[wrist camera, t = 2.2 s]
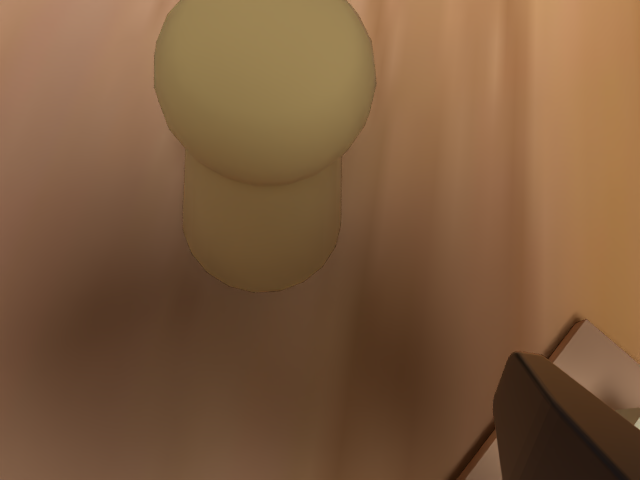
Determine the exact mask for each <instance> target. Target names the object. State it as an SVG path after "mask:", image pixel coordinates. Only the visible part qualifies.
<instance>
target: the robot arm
mask: <svg viewBox="0 0 640 480" xmlns="http://www.w3.org/2000/svg"><path fill="white" fill-rule="evenodd" d="M493 415H494V423H495V430H496V438H497V445H498V452H499V460H500V467H501V475H502V480H640V430H639V429H638V428H637V427H636V426H634V425H633V424H632V423H630V422H629V421H628V420H626V419H625V418H624V417H623V416H621V415H620V414H619V413H617V412H616V411H615V410H613V409H612V408H611V407H609V406H608V405H607V404H606V403H604V402H603V401H602V400H600V399H599V398H598V397H596V396H595V395H594V394H593V393H591V392H590V391H589V390H587V389H586V388H585V387H583V386H582V385H581V384H579V383H578V382H577V381H576V380H574V379H573V378H572V377H570V376H569V375H568V374H566V373H565V372H564V371H563V370H561V369H560V368H559V367H557V366H556V365H555V364H553V363H552V362H551V361H549V360H548V359H547V358H546V357H544V356H543V355H540V354H535V353H528V352H521V351H515V352H513V353H512V354H511V355H510V356H509V358H508V360H507V363H506V365H505V368H504V371H503V373H502V376H501V379H500V382H499V384H498V387H497V390H496V392H495V395H494V400H493Z"/></svg>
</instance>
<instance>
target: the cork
mask: <svg viewBox="0 0 640 480" xmlns="http://www.w3.org/2000/svg"><path fill="white" fill-rule="evenodd" d="M375 87H376V74H375V64H374V56H373V48H372V41H371V39H370V37H369V35H368V33H367V31H366V29H365V27H364V25H363V23H362V21H361V19H360V17H359V15H358V14H357V12H356V11H355V10H354V8H353V7H352V6H351V5H350V4H349V3H348V2H347V1H346V0H180V1H179V2H178V3H177V4H176V6H175V7H174V8H173V9H172V10H171V11H170V12H169V13H168V14H167V17H166V19H165V22H164V24H163V27H162V29H161V32H160V34H159V37H158V39H157V42H156V48H155V55H154V88H155V91H156V94H157V98H158V101H159V103H160V106H161V109H162V111H163V114H164V117H165V119H166V122H167V125H168V127H169V130H170V131H171V132H172V133H173V134H174V135H175V137H176V138H177V139H178V140H179V141H180V143H181V144H182V145H183V146H184V147H185V170H184V192H183V232H184V235H185V237H186V240H187V243H188V246H189V248H190V251H191V253H192V255H193V256H194V257H195V258H196V260H197V261H198V262H199V263H200V264H201V266H202V267H203V268H204V269H205V271H206V272H207V273H209V274H210V275H212V276H214V277H215V278H217V279H218V280H220V281H221V282H223V283H225V284H226V285H228V286H231V287H235V288H238V289H242V290H246V291H250V292H271V291H281V290H284V289H286V288H289V287H292V286H294V285H297V284H300V283H302V282H304V281H305V280H307V279H308V278H309V277H310V276H312V275H313V274H314V273H315V272H317V271H318V270H319V269H320V268H322V267H323V265H324V264H325V262H326V261H327V259H328V257H329V256H330V254H331V253H332V251H333V250H334V248H335V247H336V242H337V238H338V234H339V230H340V226H341V178H342V155H343V154H344V153H345V152H346V151H347V150H348V149H349V148H350V146H351V145H352V143H353V142H354V140H355V139H356V137H357V136H358V134H359V133H360V131H361V130H362V129H363V127H364V126H365V123H366V120H367V118H368V115H369V112H370V108H371V104H372V100H373V96H374V92H375Z"/></svg>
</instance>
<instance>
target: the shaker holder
mask: <svg viewBox="0 0 640 480" xmlns="http://www.w3.org/2000/svg"><path fill="white" fill-rule="evenodd" d="M548 360H549V361H551V362H552V363H553V364H555V365H556V366H557V367H559V368H560V369H561V370H563V371H564V372H565V373H566V374H568V375H569V376H570V377H572V378H573V379H574V380H576V381H577V382H578V383H579V384H581V385H582V386H583V387H585V388H586V389H587V390H589V391H590V392H591V393H593V394H594V395H595V396H596V397H598V398H599V399H600V400H602V401H603V402H604V403H606V404H607V405H608V406H609V407H611V408H612V409H613V410H615V411H616V412H617V413H619V414H620V415H621V416H623V417H624V418H625V419H626V420H628V421H629V422H630V423H632V424H633V425H634V426H636V427H637V428H638V429H639V430H640V365H639V364H638V363H637V362H636V361H635V360H634V359H632V358H631V357H630V356H629V355H628V354H627V353H625V352H624V351H623V350H622V349H621V348H620V347H618V346H617V345H616V344H615V343H614V342H613V341H611V340H610V339H609V338H608V337H607V336H606V335H604V334H603V333H602V332H601V331H600V330H598V329H597V328H596V327H595V326H594V325H593V324H591V323H590V322H589V321H588V320H587V319H585V320H583V321H580V322H577V323H575V325H574V326H573V327H572V328H571V330H570V331H569V332H568V334H567V335H566V336H565V338H564V339H563V340H562V342H561V343H560V344H559V346H558V347H557V348H556V349H555V351H554V352H553V353H552V355H551V356H550V357H549V359H548ZM457 480H502V475H501V467H500V460H499V452H498V445H497V438H496V430H494V431H493V432H492V434H491V435H490V436H489V438H488V439H487V440H486V441H485V443H484V444H483V445H482V447H481V448H480V449H479V451H478V452H477V453H476V455H475V456H474V457H473V459H472V460H471V461H470V462H469V464H468V465H467V466H466V468H465V469H464V470H463V472H462V473H461V474H460V476H459V477H458V478H457Z"/></svg>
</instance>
